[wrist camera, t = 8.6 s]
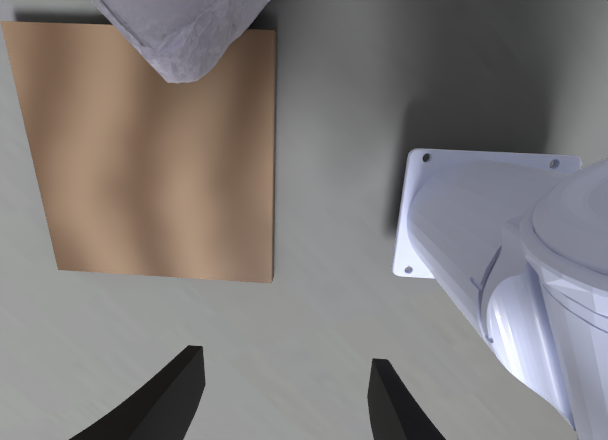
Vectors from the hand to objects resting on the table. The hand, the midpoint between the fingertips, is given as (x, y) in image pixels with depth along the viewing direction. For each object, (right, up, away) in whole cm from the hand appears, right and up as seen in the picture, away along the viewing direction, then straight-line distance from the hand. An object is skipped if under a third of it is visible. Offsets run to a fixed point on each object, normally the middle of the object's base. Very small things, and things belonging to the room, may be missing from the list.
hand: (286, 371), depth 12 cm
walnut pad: (-9, +10, +8) cm, 16 cm away
